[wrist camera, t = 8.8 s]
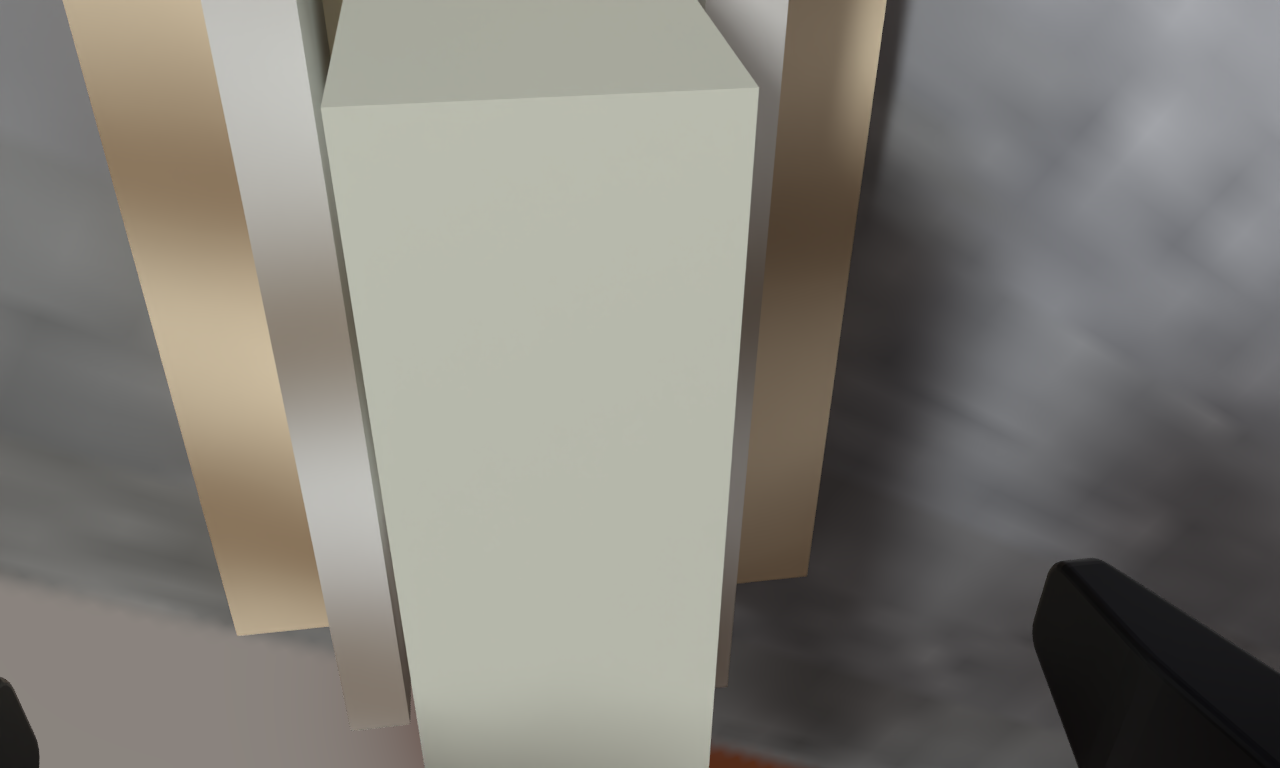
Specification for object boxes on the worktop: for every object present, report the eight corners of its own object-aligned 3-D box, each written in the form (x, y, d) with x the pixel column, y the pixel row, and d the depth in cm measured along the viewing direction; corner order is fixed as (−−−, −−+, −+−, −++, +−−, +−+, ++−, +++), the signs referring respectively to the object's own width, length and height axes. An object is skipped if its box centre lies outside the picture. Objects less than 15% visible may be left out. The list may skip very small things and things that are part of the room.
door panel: (368, -124, 14) (320, 107, 7) (606, -128, 14) (759, 86, 8) (435, 446, 19) (441, 877, 13) (609, 430, 19) (703, 841, 13)
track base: (-52, -536, 12) (-203, -584, 9) (925, -502, 13) (1059, -533, 11) (244, 597, 22) (217, 746, 19) (793, 542, 23) (845, 672, 20)
